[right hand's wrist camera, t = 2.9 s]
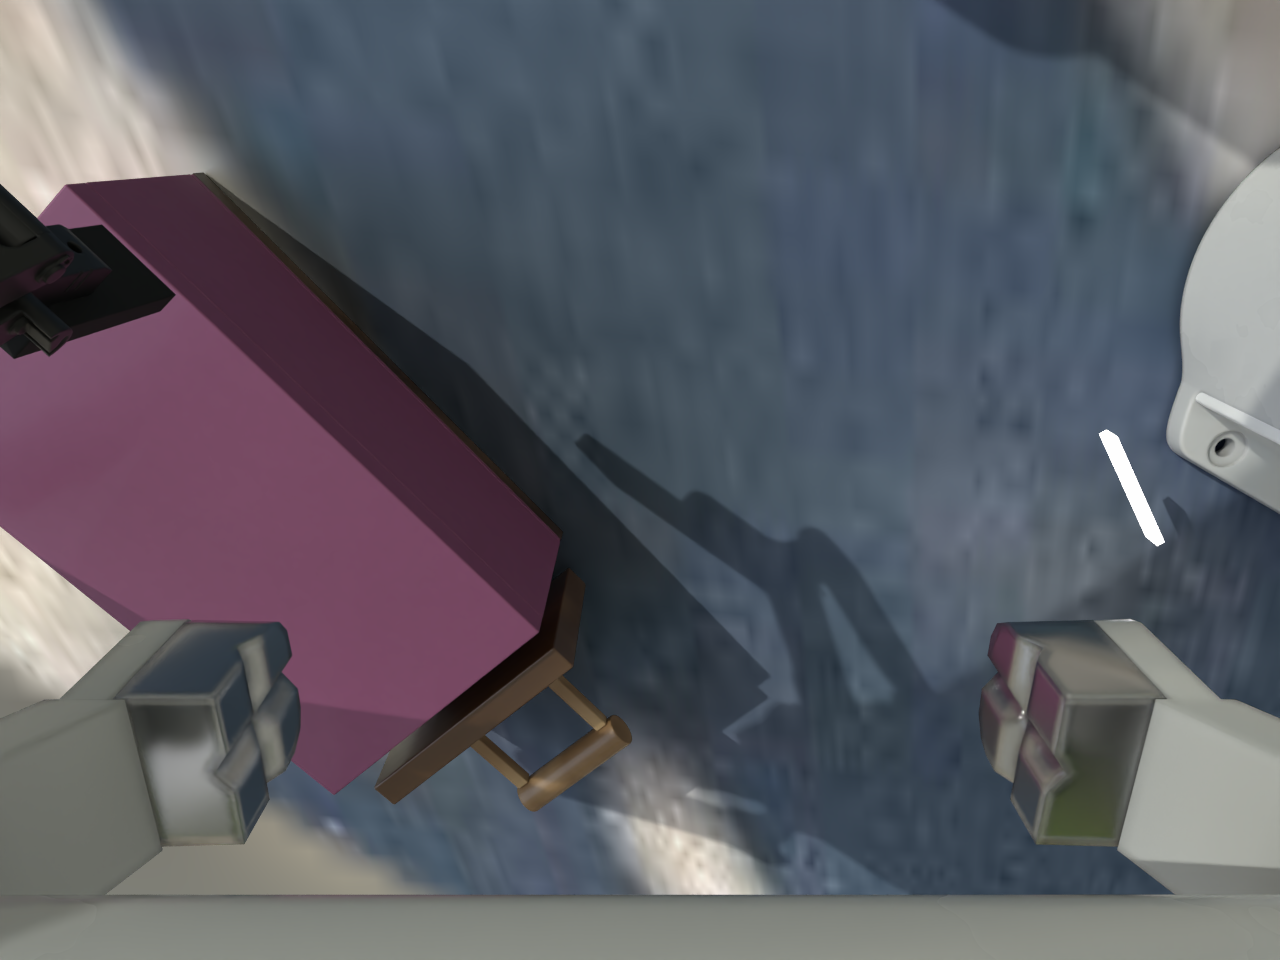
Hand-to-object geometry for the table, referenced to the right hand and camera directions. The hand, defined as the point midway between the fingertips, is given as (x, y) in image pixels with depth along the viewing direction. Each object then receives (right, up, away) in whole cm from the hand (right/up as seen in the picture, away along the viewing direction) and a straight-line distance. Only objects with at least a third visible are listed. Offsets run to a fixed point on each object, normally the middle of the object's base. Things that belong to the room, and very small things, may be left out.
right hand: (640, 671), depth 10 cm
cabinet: (-15, +4, +30) cm, 34 cm away
